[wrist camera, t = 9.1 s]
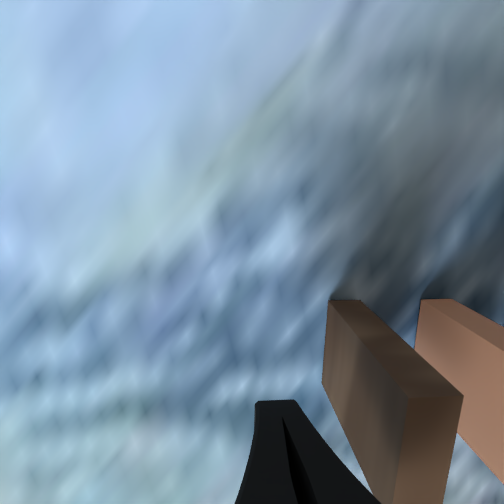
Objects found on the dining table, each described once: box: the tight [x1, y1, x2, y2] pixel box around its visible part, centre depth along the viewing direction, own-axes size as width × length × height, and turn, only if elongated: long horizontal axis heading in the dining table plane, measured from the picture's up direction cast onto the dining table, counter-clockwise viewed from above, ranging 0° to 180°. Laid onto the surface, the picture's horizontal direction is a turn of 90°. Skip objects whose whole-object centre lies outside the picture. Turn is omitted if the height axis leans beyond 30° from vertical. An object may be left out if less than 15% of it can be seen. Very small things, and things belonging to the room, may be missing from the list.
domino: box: [322, 300, 464, 504], centre depth 13 cm, size 2×5×7 cm, turn 179°
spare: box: [414, 299, 504, 484], centre depth 13 cm, size 2×5×7 cm, turn 179°
